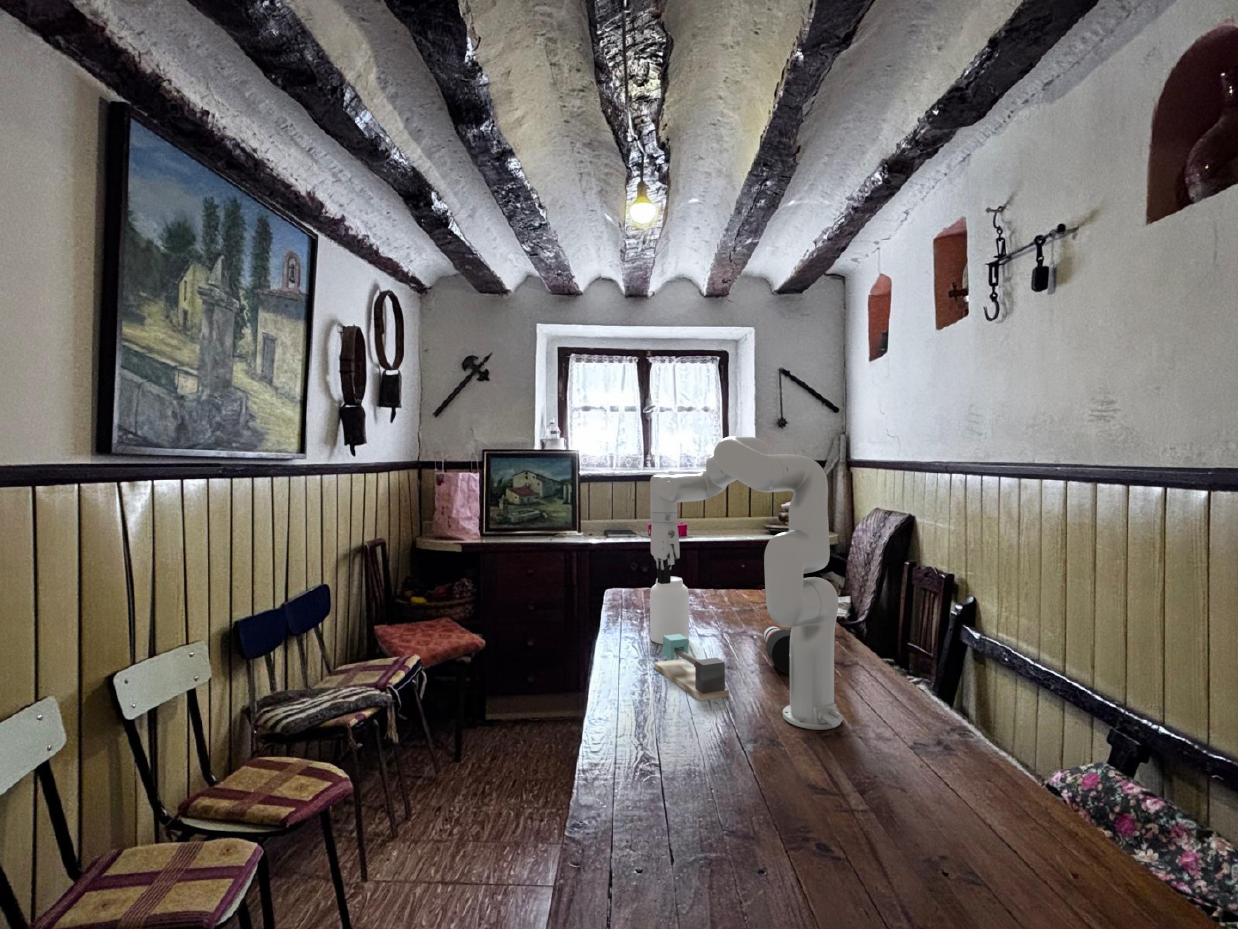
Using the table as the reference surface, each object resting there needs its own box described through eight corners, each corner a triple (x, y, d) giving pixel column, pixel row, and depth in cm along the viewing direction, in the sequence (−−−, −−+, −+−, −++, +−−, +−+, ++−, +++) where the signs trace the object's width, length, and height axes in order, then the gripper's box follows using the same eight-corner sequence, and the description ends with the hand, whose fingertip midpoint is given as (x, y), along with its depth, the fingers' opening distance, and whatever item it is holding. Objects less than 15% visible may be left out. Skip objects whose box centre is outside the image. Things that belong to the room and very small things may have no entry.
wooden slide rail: (728, 696, 159) (728, 661, 159) (699, 700, 156) (699, 665, 156) (680, 664, 183) (679, 634, 183) (654, 668, 180) (654, 637, 180)
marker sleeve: (687, 658, 176) (687, 638, 176) (671, 660, 174) (671, 640, 174) (679, 652, 180) (679, 633, 180) (663, 655, 179) (663, 635, 178)
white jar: (646, 644, 203) (646, 580, 203) (654, 633, 215) (653, 573, 215) (686, 647, 200) (686, 582, 200) (691, 636, 212) (691, 575, 212)
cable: (778, 655, 206) (792, 626, 206) (799, 681, 172) (816, 647, 173) (749, 640, 207) (763, 611, 208) (765, 662, 173) (782, 628, 174)
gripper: (688, 520, 177) (688, 587, 178) (664, 515, 192) (664, 577, 192) (663, 521, 175) (663, 589, 175) (640, 516, 189) (641, 579, 189)
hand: (663, 582), depth 183 cm, fingers closed
